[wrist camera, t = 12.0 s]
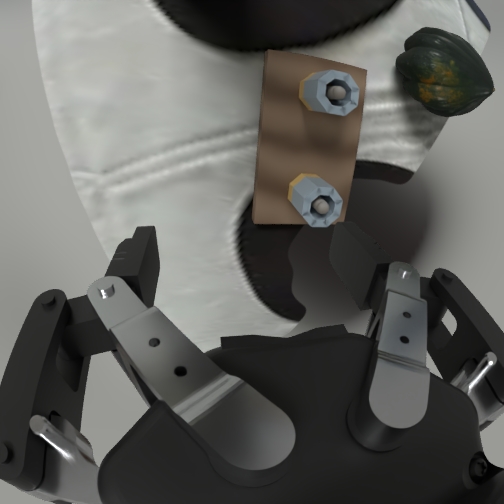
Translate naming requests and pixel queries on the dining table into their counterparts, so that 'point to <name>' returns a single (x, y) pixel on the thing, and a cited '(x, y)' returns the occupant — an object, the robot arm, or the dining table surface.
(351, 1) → the dining table surface
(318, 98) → the seated sleeve
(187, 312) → the dining table surface
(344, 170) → the pin board
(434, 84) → the squash
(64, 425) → the robot arm
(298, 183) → the slate sleeve
